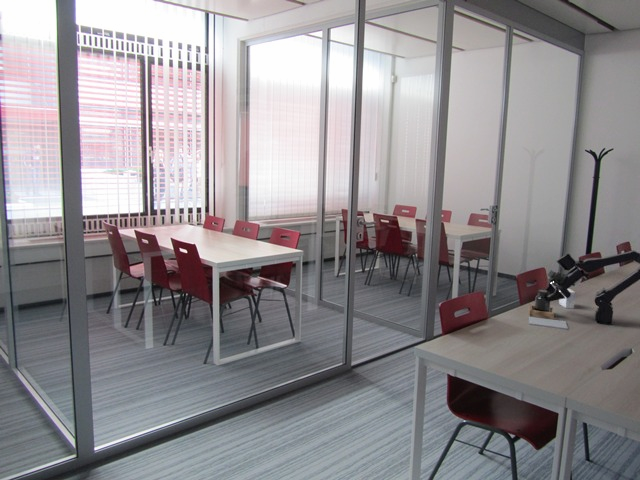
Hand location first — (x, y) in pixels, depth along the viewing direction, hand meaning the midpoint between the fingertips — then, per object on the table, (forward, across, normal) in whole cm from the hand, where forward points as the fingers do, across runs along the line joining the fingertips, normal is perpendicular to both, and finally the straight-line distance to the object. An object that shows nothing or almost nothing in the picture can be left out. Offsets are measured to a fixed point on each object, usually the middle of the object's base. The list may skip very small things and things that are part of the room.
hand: (544, 298), depth 247 cm
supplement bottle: (+6, 0, +6) cm, 9 cm away
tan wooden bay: (+6, 0, +5) cm, 8 cm away
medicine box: (-6, -20, +18) cm, 27 cm away
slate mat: (+7, +13, +5) cm, 16 cm away
